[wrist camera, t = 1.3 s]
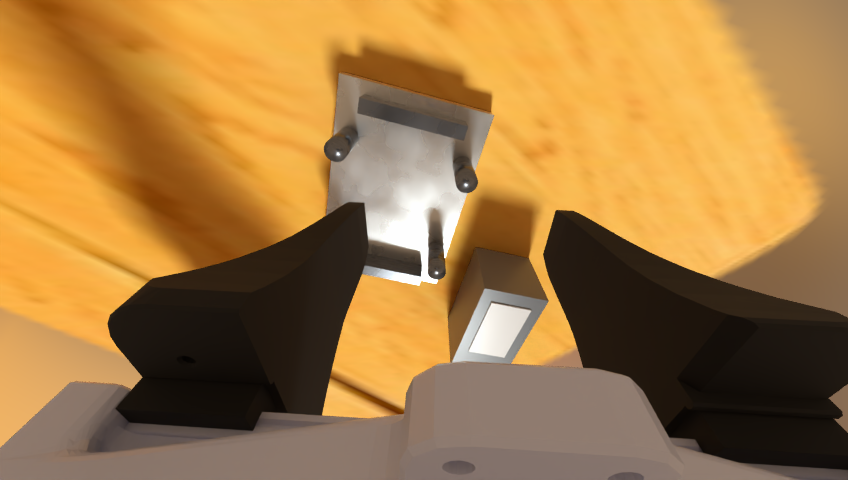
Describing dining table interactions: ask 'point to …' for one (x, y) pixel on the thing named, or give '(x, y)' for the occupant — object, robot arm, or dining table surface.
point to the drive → (494, 308)
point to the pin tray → (404, 172)
